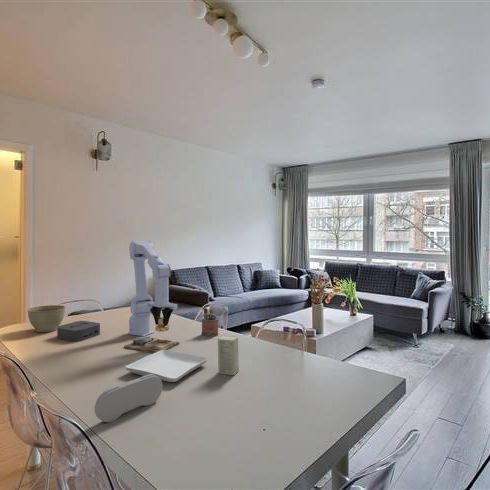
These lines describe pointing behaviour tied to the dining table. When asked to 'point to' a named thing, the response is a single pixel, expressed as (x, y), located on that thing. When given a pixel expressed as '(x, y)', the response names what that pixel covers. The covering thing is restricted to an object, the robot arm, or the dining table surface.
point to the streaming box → (78, 330)
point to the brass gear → (161, 325)
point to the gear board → (151, 344)
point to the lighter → (209, 325)
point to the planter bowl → (46, 317)
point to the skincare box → (228, 355)
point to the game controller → (128, 397)
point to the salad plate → (167, 365)
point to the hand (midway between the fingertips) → (161, 324)
